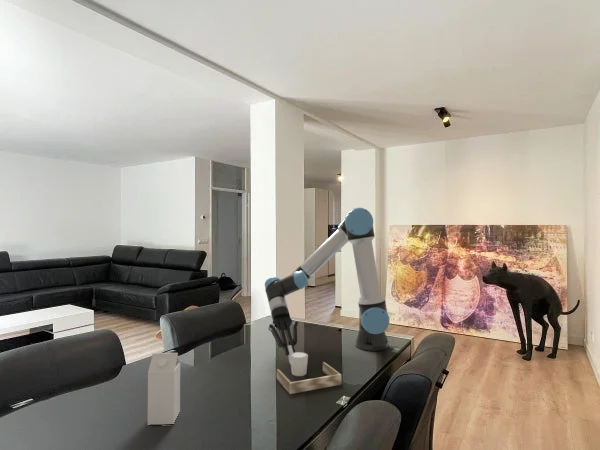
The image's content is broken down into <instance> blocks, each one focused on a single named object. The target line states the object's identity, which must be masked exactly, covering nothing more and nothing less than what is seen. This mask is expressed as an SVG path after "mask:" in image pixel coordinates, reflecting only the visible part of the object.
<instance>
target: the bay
mask: <svg viewBox="0 0 600 450" xmlns="http://www.w3.org/2000/svg"><path fill="white" fill-rule="evenodd" d="M322 372H323V373H324V374H326V375H325V376H320V377H314V378H308V379H303V380H297V381H291V380H290V379H289V378H288V377H287V376H286V374H284V373H283V372H282V371H281V370H280V369H279V368H277V369H276V381H278V382H279V384H280V385H281V386H282V387H283V388H284V389H285V391H286V392H287V393H288V394H289V395H292V394H297V393H303V392H308V391H313V390H318V389H325V388H330V387H335V386H341V385H342V374H341V373H340V372H339V371H338V370H336V369H335V368H334V367H333V366H331V365H329V364H328V363H326V362H325V361H322Z"/></svg>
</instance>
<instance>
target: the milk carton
mask: <svg viewBox="0 0 600 450" xmlns="http://www.w3.org/2000/svg"><path fill="white" fill-rule="evenodd" d="M178 354H179V353H178V352H160V353H159V352H157V353H152V354H151V361H150V365H149V367H148V369H147V370H148V371H147V373H148V374H147V426H148V425H150V424H174V425H175V423H176V421H177V419H178V417H179V415H180V413H181V407H180V406H181V360H180V359H179V355H178ZM179 412H180V413H179ZM178 414H179V415H178ZM177 416H178V417H177ZM176 418H177V419H176ZM175 420H176V421H175ZM174 422H175V423H174Z"/></svg>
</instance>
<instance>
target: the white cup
mask: <svg viewBox="0 0 600 450" xmlns="http://www.w3.org/2000/svg"><path fill="white" fill-rule="evenodd" d="M290 359H291V364H290V369H291V375H293V376H295V377H303V376H306V375H307V370H308V362H309V361H308V359H309V355H308V353H306V352H303V351H295V352H294V353H291V354H290Z"/></svg>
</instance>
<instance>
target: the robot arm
mask: <svg viewBox="0 0 600 450" xmlns="http://www.w3.org/2000/svg"><path fill="white" fill-rule="evenodd" d="M374 239H375V230H374V217H373V215H372V213H371V212H370V211H369V210H368V209H366V208H363V207H355V208H352V209H350V210H349V211H348V212H347V213H346V215H345V218H344V219H343V221H342V222H341V223H340V224H338V226H337V229H336V231H335V232H333V233H332V234H331V235H330V236H329V237H328V238H327V239H326V240H325V241H324V242H323V243H322V244H321V245H320V246H319V247H318V248H317V249H316V250H315V251H313V253H311V255H309V256H308V257H307V259H306V260H304V261H303V262H302V263H301V264H300V265H299V266H298V267H297V268H296V269H295V270H294V271H293V272H292V273H291V274H290V275H288V276H285V277H283V278H281V279H280V278H279V277H278V276H273V277H269V278H268V279H266V280H265V282H264V289H265V290H264V291H265V293H266V298H267V301H268V305H269V306H268V307H269V311H270V313H271V315H270V316H271V319H272V323H270V324H269V326H268V327H267V329H268V330H269V332H271V334H272V336H273V338H274V340H275V342H276V344H277V347H278V348H279V349H280V348H282V349H283V351H284V354H285V356H287V358H288V362H289V365H291V359H290V354H291V353H294V352H296V349H295V346H297V343H298V325H299V322H298V321H293V319H292V318H291V314H290V311H289V309H288V304H287V300H286V296H288V295H289V294H293V293H295V292H297V291H300V290H303V289H305V288H306V287H308V286H309V284H310V283H309V279H310V278H312V276H314V275H315V274H316V273H317V272H318V271H319V270H320V269H321V268H322V267H323V266H324V265H326V264H327V263H328V262H329V260H330V259H332V257H334V256H335V255H336V254H337V253H338V252H339V251H340V250H341V249H342V248H343V247H344V246H345V245H346V244H347V243H348V242H349V243H350V244H351V245H352V250H353V256H354V263H355V269H356V276H357V283H358V287H359V288H358V290H359V294H360V297H359V298H358V299H359V300H358V302H357V305H358V331H357V334H356V337H355V340H354V342H355V344H354V345H355V347H356V348H358V349H360V350H365V351H372V352H380V351H385V350H387V349H388V348H389V341H388V338H387V335H386V330H387V329H388V328H389V325H390V316H389V313H388V310H387V304H386V298H385V297H383V296H382V295H381V289H380V282H379V277H378V271H377V263H376V259H375V252H374V246H373V240H374ZM291 327H292V333H291ZM277 330H278V331H277ZM278 332H279V333H278Z"/></svg>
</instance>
